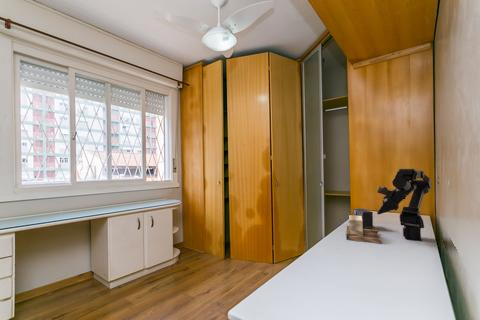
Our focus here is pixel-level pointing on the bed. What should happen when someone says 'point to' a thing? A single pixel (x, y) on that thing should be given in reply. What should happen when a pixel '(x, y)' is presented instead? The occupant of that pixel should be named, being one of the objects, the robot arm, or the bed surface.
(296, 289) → the bed surface
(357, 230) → the pale wooden box
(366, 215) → the small box
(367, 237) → the bay
